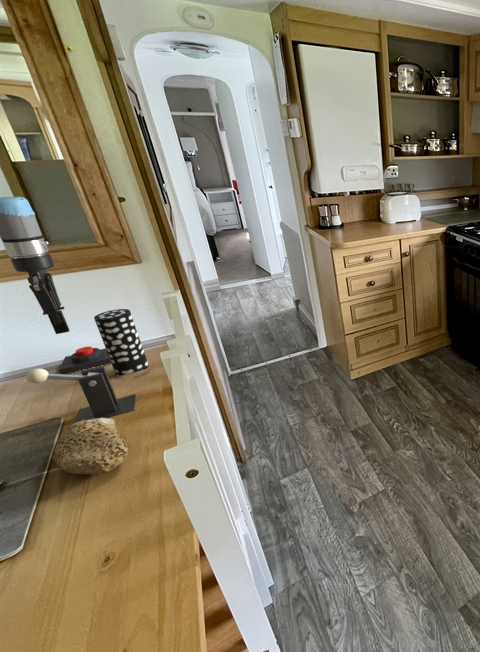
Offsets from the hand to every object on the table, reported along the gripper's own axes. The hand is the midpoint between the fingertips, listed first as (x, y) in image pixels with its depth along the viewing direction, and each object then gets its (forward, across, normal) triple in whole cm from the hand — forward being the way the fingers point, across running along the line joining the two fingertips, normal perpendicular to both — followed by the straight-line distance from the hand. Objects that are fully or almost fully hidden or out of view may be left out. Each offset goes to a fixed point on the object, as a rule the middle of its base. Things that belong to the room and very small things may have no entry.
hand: (62, 332), depth 112 cm
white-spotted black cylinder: (+16, -3, -12) cm, 21 cm away
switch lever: (+5, -27, -2) cm, 27 cm away
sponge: (+16, -47, -7) cm, 50 cm away
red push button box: (+16, +11, -1) cm, 20 cm away
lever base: (+16, -27, -8) cm, 32 cm away
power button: (+13, +11, -1) cm, 17 cm away
